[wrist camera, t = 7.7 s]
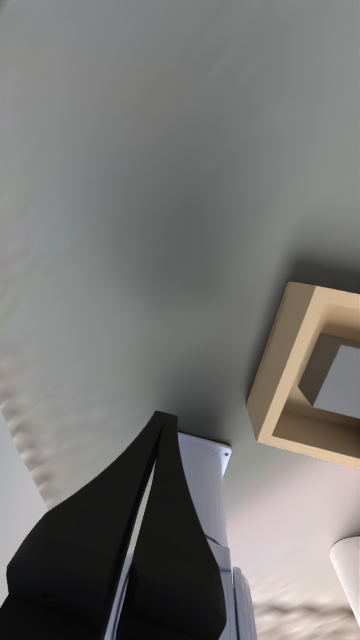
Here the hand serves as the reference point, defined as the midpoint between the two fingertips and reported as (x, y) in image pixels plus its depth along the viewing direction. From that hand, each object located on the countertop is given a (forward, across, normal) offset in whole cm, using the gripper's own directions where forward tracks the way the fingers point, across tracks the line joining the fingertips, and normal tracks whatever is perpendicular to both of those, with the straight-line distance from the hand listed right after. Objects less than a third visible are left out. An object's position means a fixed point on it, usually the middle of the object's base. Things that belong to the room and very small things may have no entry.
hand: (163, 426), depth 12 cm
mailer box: (+10, -16, -2) cm, 19 cm away
